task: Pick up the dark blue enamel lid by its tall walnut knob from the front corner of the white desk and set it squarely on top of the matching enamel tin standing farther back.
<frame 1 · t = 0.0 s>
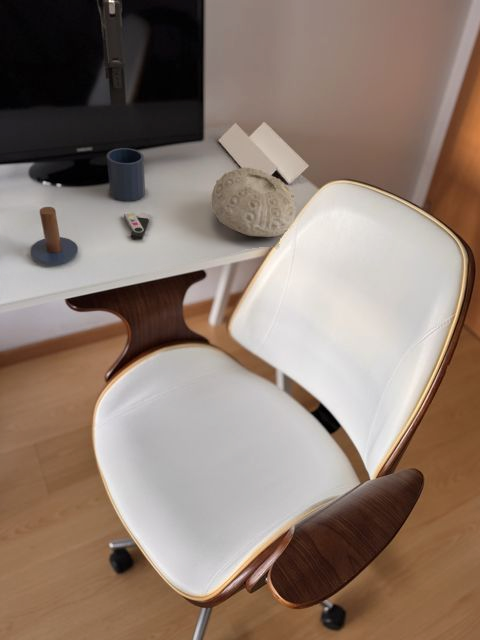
hand: (115, 91, 104), 22 cm above the table, tool pointing down, fingers open, 13 cm apart
usb flash drive: (133, 227, 110), on the table
tin: (127, 193, 119), on the table
lid: (54, 251, 100), point 1 cm above the table
z bracket: (268, 160, 139), on the table
decorative shell: (249, 222, 116), on the table
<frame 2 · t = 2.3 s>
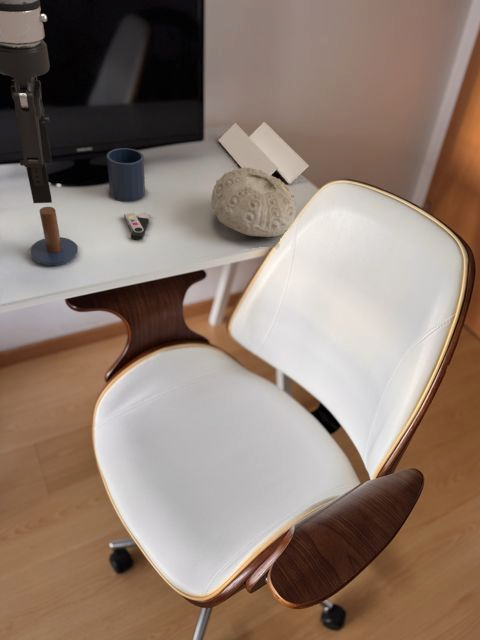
hand: (43, 181, 91), 15 cm above the table, tool pointing down, fingers open, 13 cm apart
nothing on the table moved.
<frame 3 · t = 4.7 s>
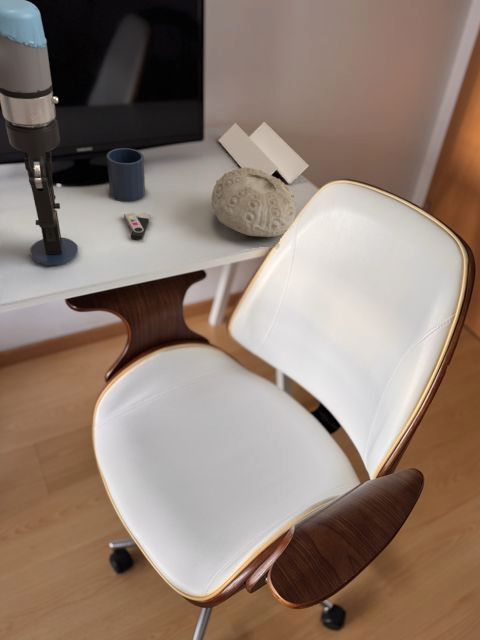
hand: (54, 247, 100), 2 cm above the table, tool pointing down, fingers closed on lid, 3 cm apart
lid: (54, 251, 100), point 1 cm above the table, touching gripper
everything else where it was.
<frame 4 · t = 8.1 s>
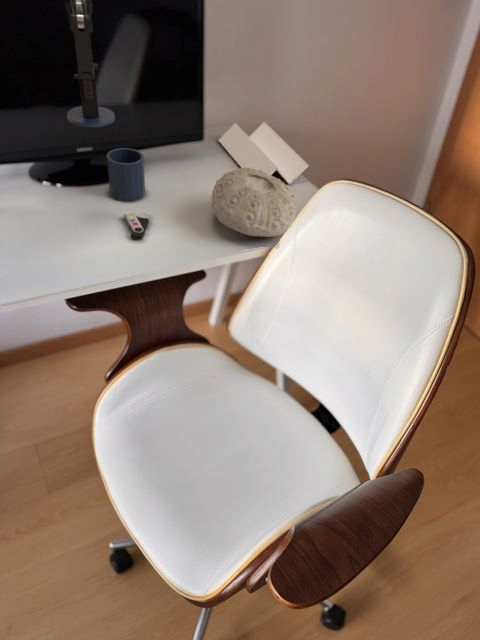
hand: (90, 112, 97), 21 cm above the table, tool pointing down, fingers closed on lid, 3 cm apart
lid: (91, 117, 98), point 20 cm above the table, touching gripper
everything else where it was.
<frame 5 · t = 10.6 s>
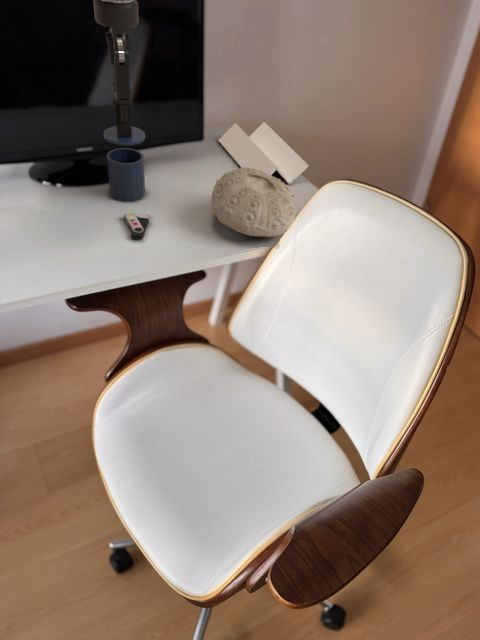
hand: (124, 132, 110), 13 cm above the table, tool pointing down, fingers closed on lid, 3 cm apart
lid: (124, 136, 111), point 13 cm above the table, touching gripper
everything else where it was.
when the fingers open (9 cm above the table, at t = 11.9 s): lid stays where it is, resting on tin.
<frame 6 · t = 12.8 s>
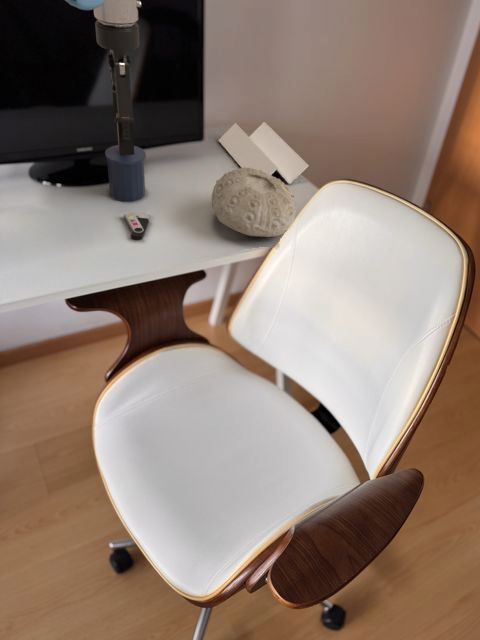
hand: (124, 139, 111), 12 cm above the table, tool pointing down, fingers open, 13 cm apart
lid: (125, 155, 114), point 8 cm above the table, touching tin
everything else where it was.
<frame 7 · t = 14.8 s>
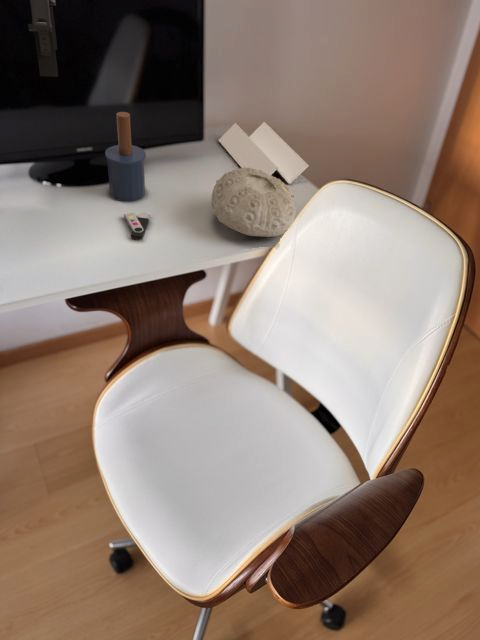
hand: (49, 61, 92), 28 cm above the table, tool pointing down, fingers open, 13 cm apart
nothing on the table moved.
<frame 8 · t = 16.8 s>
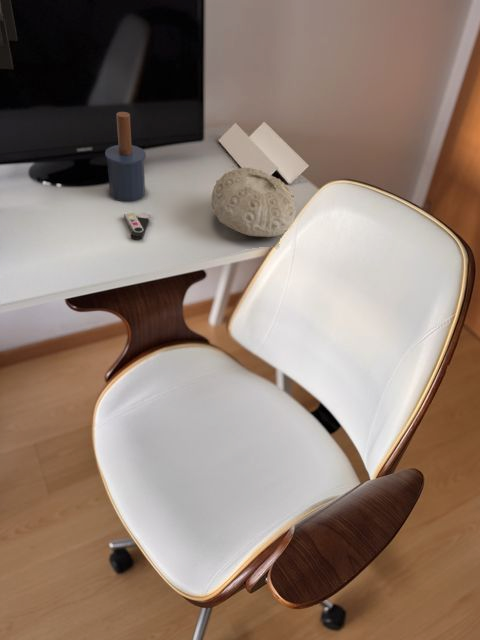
hand: (6, 53, 86), 31 cm above the table, tool pointing down, fingers open, 13 cm apart
nothing on the table moved.
at the end: lid 0.1 cm off-centre on the tin, point 8.5 cm above the tin's base; lid tilted 0° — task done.
